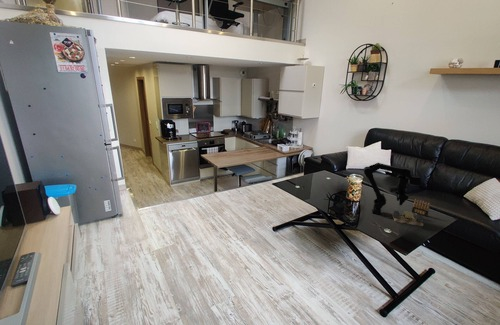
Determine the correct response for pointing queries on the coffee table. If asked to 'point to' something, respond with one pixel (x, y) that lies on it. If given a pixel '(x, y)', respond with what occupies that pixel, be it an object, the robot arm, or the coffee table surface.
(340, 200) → the coffee table surface
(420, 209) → the ammunition clip
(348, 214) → the coffee table surface
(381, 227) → the pliers
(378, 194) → the robot arm
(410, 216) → the block
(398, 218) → the shaft stand
